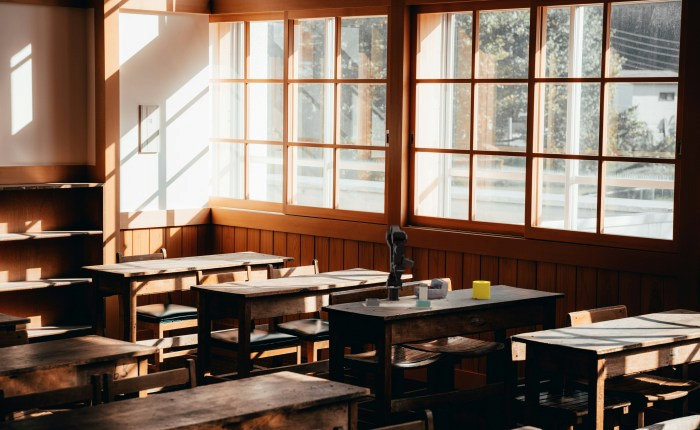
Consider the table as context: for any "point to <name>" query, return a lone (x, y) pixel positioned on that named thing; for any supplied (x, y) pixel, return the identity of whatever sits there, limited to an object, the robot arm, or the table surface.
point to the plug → (423, 292)
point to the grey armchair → (435, 289)
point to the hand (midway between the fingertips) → (397, 281)
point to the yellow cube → (481, 289)
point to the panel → (411, 306)
